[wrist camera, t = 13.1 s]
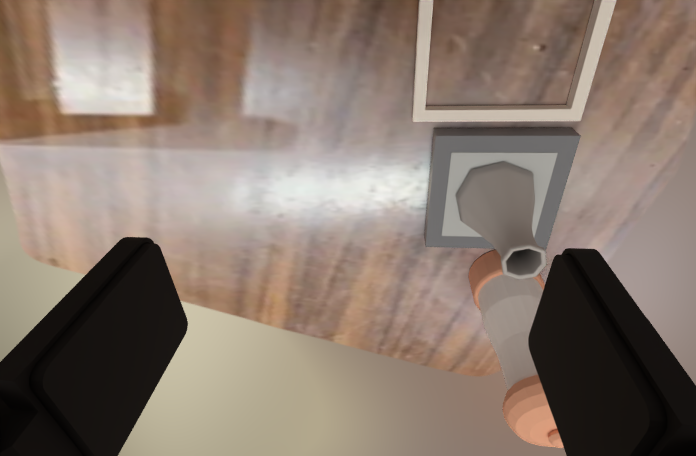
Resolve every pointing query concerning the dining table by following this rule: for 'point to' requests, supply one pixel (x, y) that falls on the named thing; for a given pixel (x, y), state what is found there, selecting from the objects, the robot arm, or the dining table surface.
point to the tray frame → (568, 112)
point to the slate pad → (487, 149)
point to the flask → (503, 215)
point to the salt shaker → (514, 346)
